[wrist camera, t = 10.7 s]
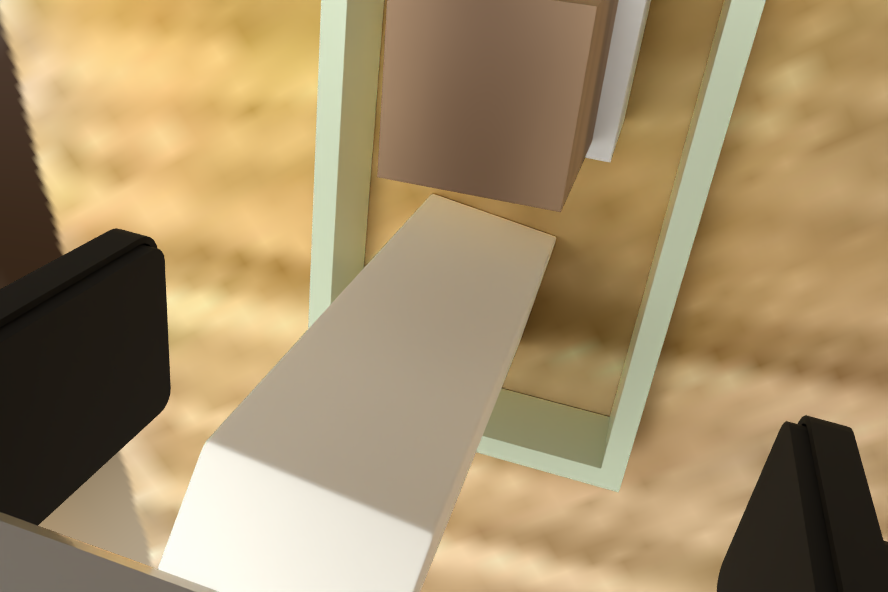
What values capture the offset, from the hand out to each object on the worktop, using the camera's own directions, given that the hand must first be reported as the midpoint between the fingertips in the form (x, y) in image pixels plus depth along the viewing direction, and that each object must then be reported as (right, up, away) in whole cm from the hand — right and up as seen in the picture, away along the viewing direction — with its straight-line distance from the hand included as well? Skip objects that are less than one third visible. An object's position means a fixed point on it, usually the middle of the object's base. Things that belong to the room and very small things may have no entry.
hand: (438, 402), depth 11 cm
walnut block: (+3, +9, +14) cm, 17 cm away
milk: (+2, +3, +25) cm, 25 cm away
